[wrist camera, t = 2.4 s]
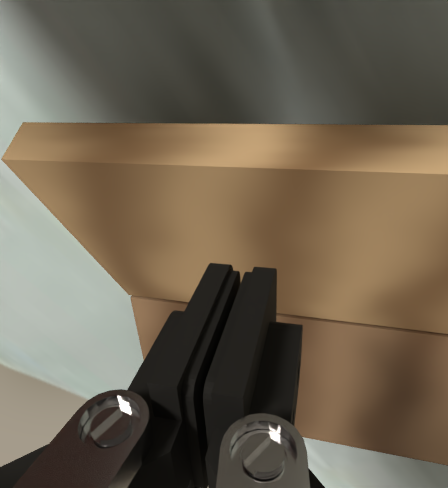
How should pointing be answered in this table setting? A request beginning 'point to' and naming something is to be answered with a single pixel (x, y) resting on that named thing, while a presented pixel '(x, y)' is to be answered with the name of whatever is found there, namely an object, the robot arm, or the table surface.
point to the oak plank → (257, 209)
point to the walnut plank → (356, 382)
